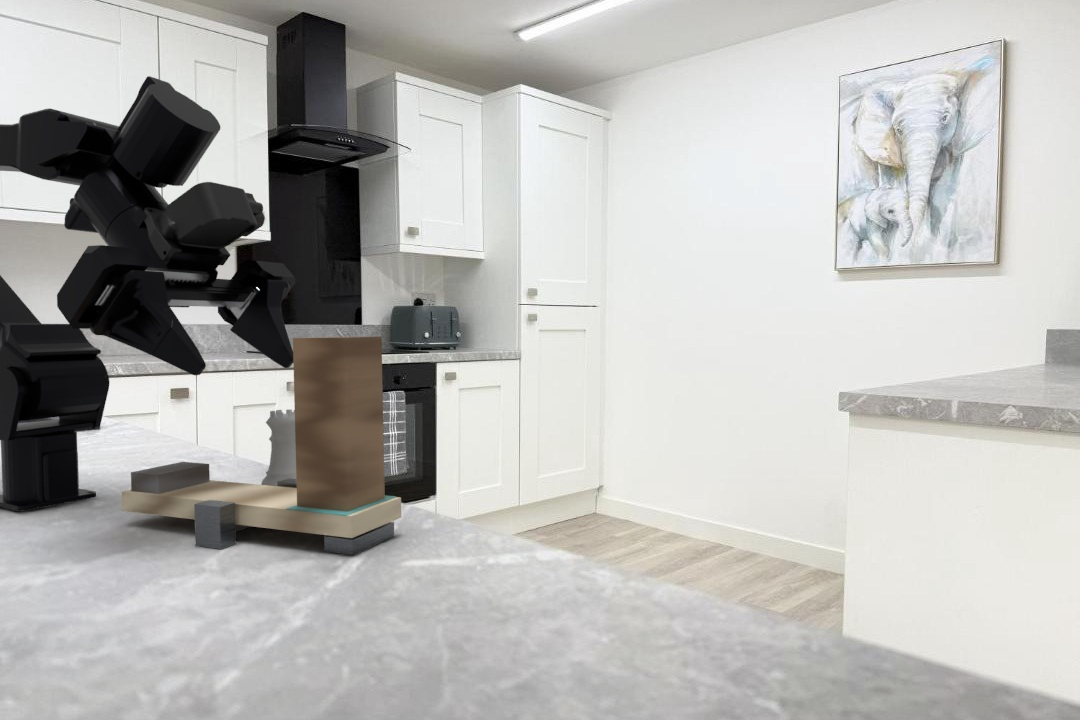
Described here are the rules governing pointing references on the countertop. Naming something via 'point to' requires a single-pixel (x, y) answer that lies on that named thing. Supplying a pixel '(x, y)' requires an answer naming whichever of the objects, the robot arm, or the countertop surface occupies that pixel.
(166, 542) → the countertop surface
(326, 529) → the seesaw beam
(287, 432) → the rook chess piece
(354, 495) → the column
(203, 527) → the seesaw stand
